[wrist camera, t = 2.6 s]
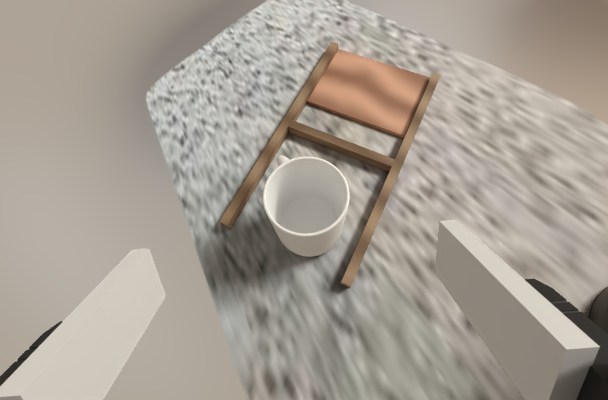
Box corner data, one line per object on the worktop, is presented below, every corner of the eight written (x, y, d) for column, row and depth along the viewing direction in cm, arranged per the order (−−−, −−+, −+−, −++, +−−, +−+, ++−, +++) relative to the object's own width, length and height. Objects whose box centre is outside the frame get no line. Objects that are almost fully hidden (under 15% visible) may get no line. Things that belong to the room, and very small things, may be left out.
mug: (311, 167, 42) (308, 120, 32) (354, 239, 38) (366, 210, 28) (257, 193, 41) (236, 153, 31) (295, 270, 37) (285, 252, 27)
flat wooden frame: (349, 287, 35) (350, 286, 34) (223, 225, 39) (219, 221, 38) (436, 82, 46) (440, 75, 45) (331, 50, 50) (331, 41, 49)
